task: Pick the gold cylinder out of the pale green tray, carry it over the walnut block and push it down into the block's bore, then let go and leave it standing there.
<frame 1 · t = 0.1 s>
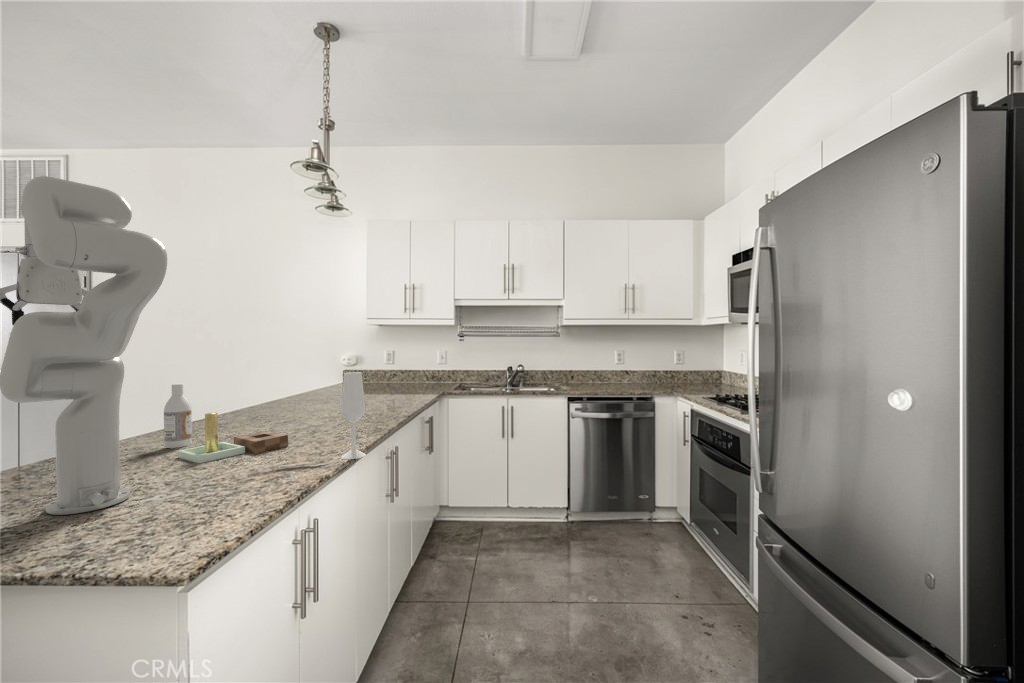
hand: (50, 328, 103), 37 cm above the countertop, tool pointing down, fingers open, 9 cm apart
bath foam: (178, 447, 139), on the countertop
champagne flute: (353, 456, 127), on the countertop
tray: (212, 457, 127), on the countertop
gold cylinder: (211, 455, 127), point 1 cm above the countertop, touching tray
bore block: (261, 448, 136), on the countertop
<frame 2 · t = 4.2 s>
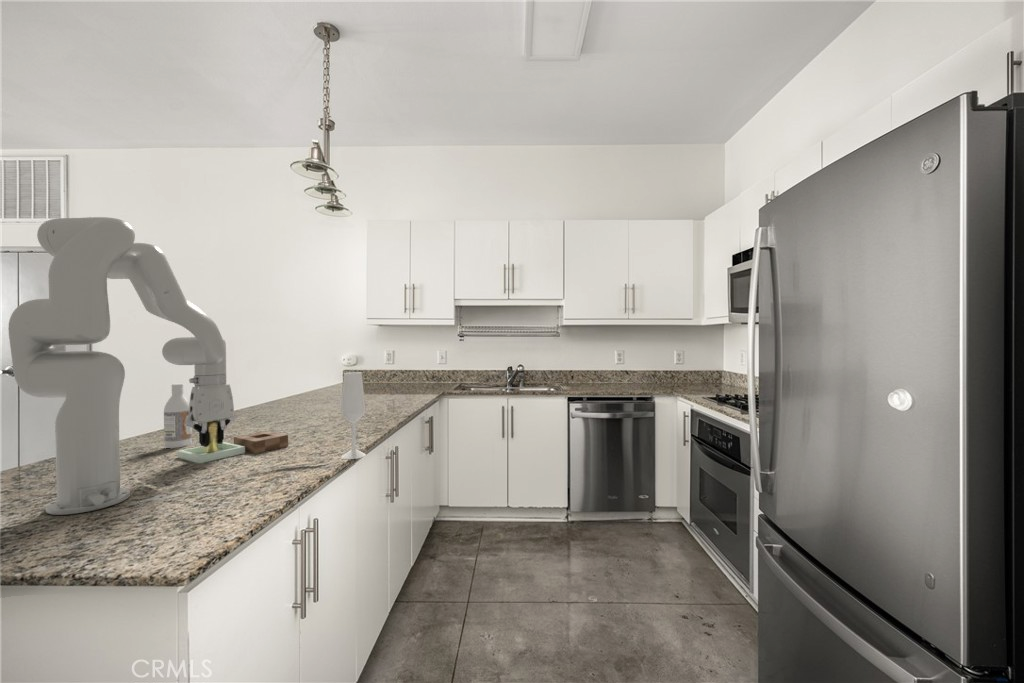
hand: (211, 444, 127), 4 cm above the countertop, tool pointing down, fingers closed on gold cylinder, 3 cm apart
gold cylinder: (211, 455, 127), point 1 cm above the countertop, touching gripper, tray
everything else where it was.
when the fingers open (5 cm above the countertop, at t = 9.4 s): gold cylinder drops 2 cm, resting in bore block.
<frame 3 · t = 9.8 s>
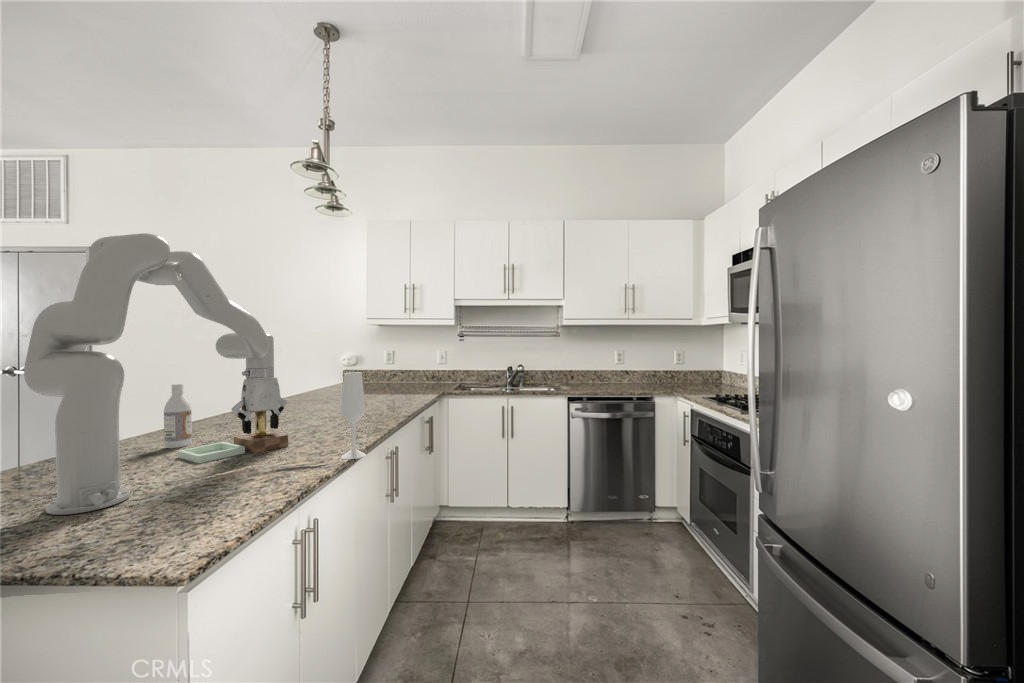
hand: (261, 430, 136), 6 cm above the countertop, tool pointing down, fingers open, 7 cm apart
gold cylinder: (261, 448, 136), resting in bore block
everything else where it was.
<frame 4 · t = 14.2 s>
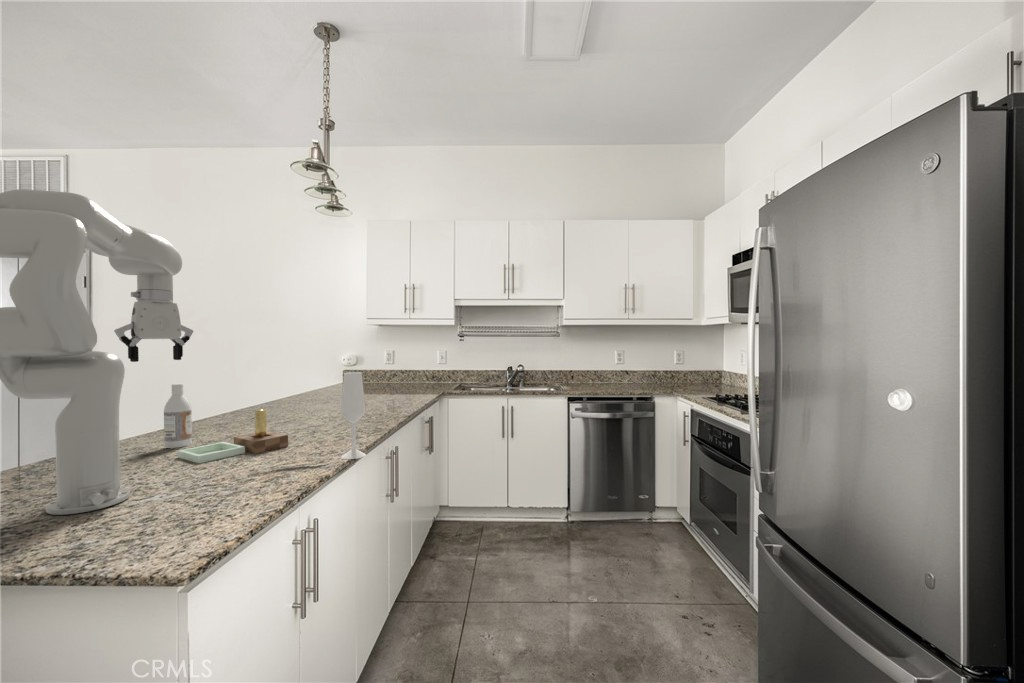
hand: (156, 360, 119), 28 cm above the countertop, tool pointing down, fingers open, 9 cm apart
nothing on the countertop moved.
at the end: gold cylinder 0.1 cm off-centre on the bore block, point 0.0 cm above the bore block's base; gold cylinder tilted 0°; the gripper is holding nothing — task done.
